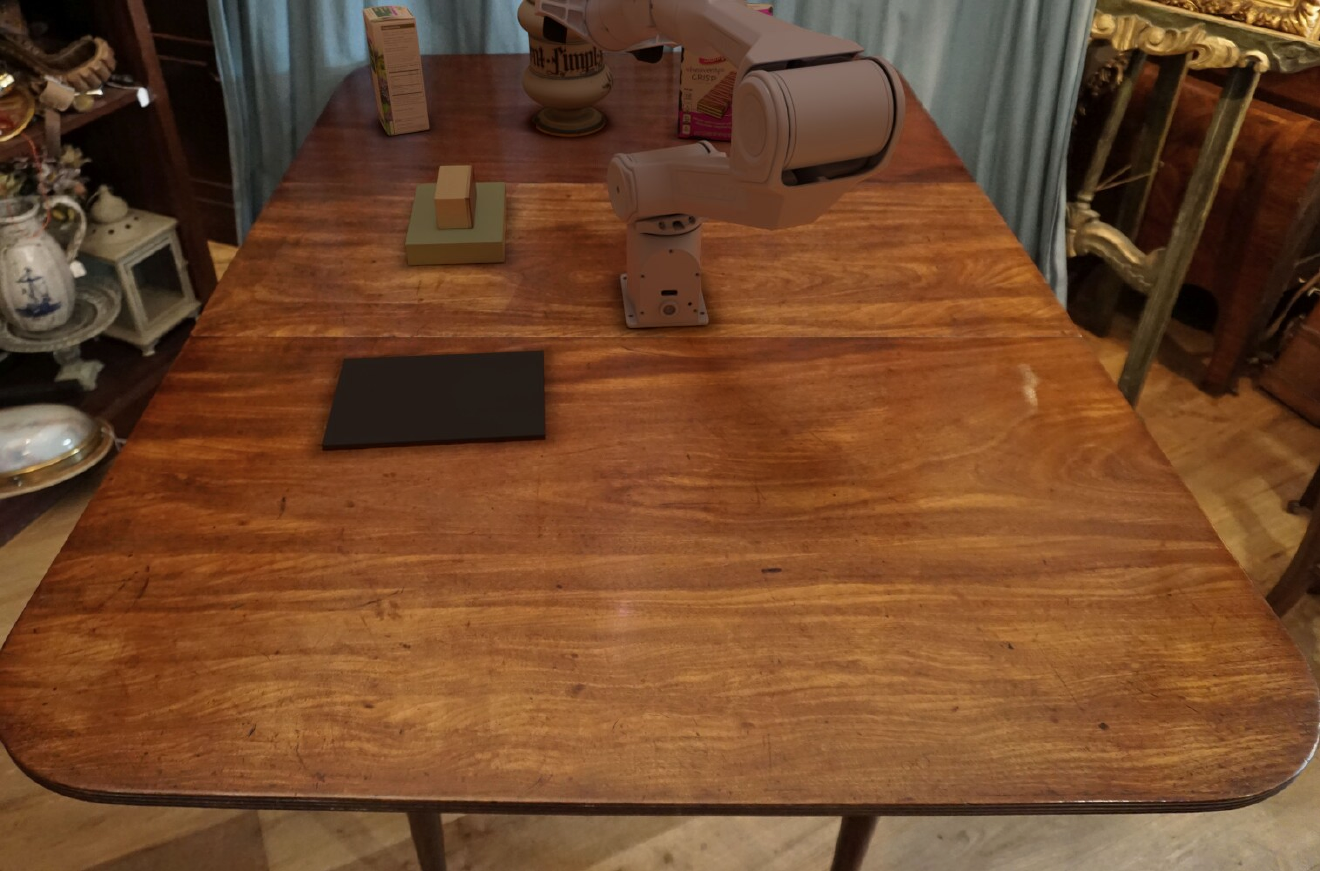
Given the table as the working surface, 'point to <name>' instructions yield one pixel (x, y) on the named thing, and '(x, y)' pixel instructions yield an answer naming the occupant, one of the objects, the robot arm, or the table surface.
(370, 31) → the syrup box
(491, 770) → the table surface
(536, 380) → the felt mat
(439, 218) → the tan rectangular block
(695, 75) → the candy bar box
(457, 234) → the sage rectangular block
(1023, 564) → the table surface
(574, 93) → the apothecary jar
